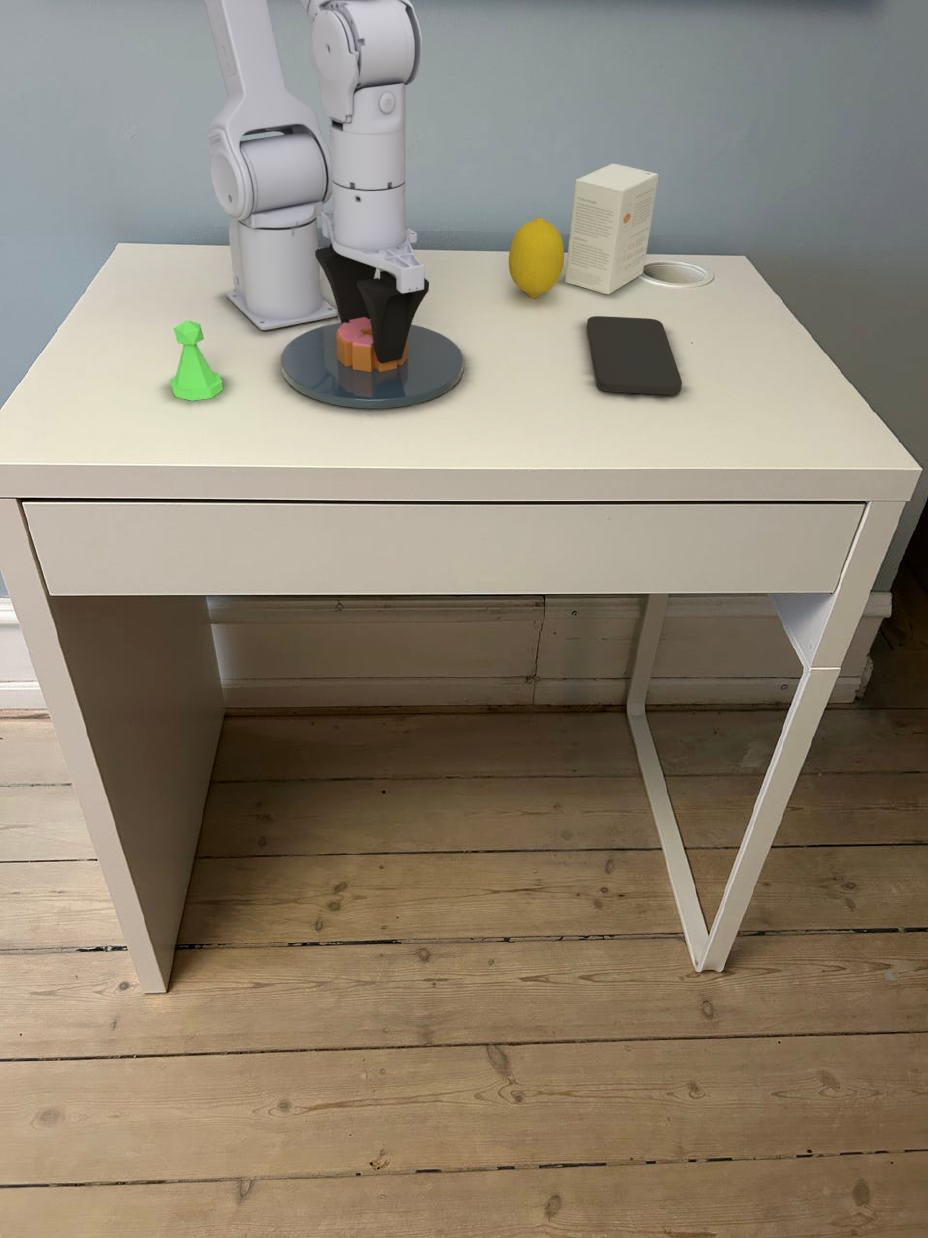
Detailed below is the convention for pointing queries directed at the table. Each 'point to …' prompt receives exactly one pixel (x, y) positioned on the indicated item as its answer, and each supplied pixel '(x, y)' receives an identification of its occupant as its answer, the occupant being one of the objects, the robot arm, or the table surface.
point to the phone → (632, 356)
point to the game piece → (193, 367)
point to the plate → (330, 381)
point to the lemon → (536, 257)
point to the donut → (362, 347)
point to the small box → (610, 227)
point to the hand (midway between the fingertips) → (372, 344)
